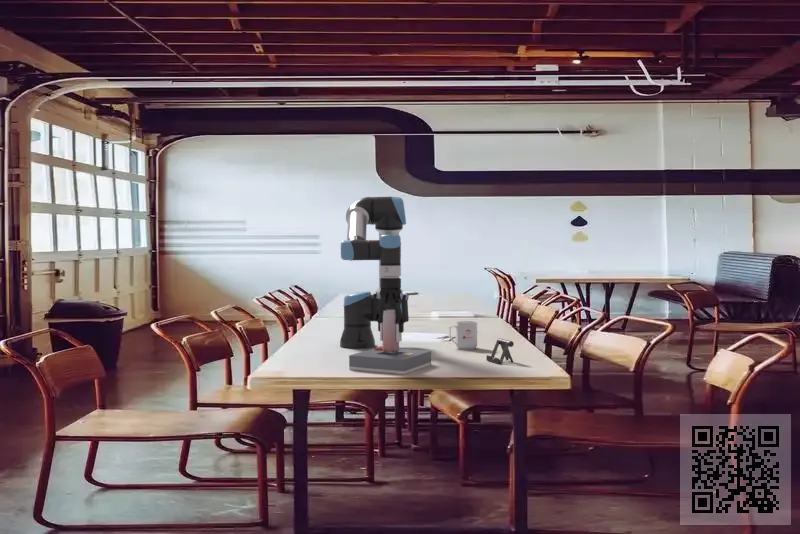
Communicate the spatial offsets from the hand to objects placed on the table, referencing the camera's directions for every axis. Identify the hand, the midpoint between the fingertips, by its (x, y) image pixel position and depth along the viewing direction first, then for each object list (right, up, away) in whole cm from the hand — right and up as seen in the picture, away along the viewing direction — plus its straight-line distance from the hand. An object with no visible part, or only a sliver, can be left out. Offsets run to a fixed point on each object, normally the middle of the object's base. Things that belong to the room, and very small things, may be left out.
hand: (390, 340), depth 272 cm
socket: (0, -9, 0) cm, 9 cm away
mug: (+30, -8, +45) cm, 54 cm away
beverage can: (0, -4, 0) cm, 4 cm away
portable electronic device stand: (+41, -9, +10) cm, 44 cm away
